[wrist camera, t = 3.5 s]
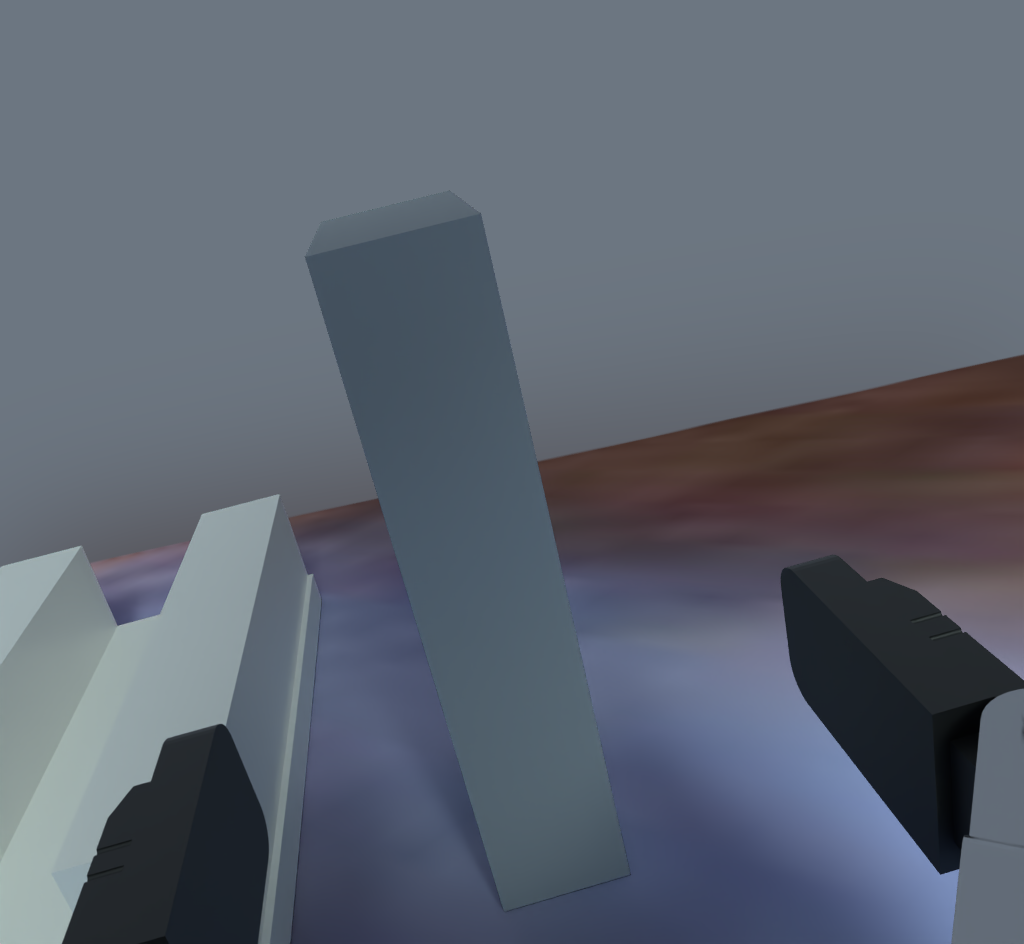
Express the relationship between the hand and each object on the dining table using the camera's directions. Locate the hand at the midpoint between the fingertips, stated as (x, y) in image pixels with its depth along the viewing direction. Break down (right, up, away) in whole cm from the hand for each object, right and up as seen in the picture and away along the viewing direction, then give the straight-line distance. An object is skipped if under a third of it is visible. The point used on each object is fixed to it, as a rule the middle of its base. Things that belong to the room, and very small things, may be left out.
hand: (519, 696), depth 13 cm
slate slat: (+1, -5, +11) cm, 12 cm away
